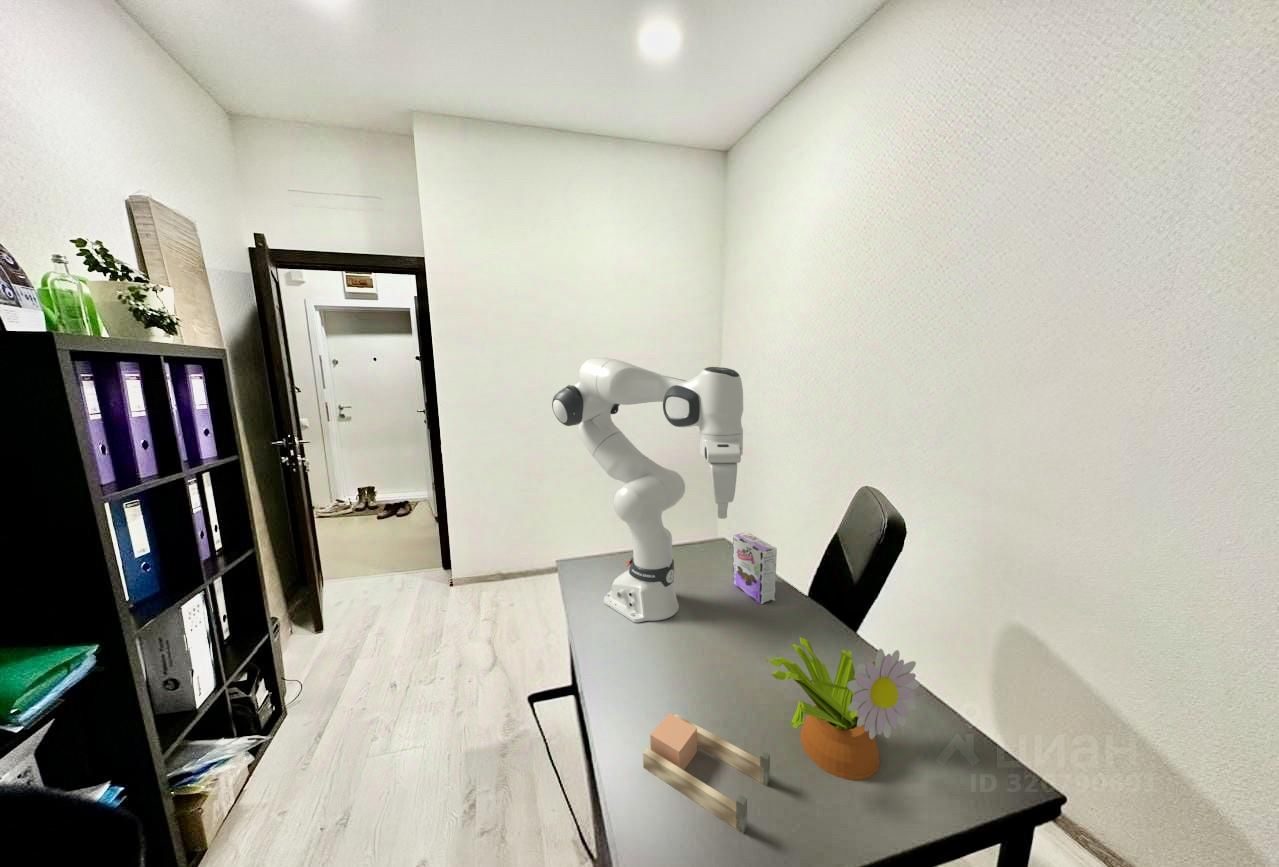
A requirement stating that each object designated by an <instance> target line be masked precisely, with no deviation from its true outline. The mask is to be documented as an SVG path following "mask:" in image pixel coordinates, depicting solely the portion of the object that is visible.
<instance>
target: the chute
mask: <svg viewBox="0 0 1279 867" xmlns="http://www.w3.org/2000/svg"><path fill="white" fill-rule="evenodd" d="M674 716H676V717H678V718H679V719H681V720H683V721H685V722H687V723H689V724H690V725H692V726H694V727H696V728H697V748H699V749H701V750H703V751H705V752H706V753H708V754H710V755H712V756H713V757H716V758H717V759H719V760H721V761H722V762H724V763H726V764H728V765H730V766H731V767H733V768H735V769H736V770H738V771H740V772H741V773H743V774H746V775H747V776H749V777H750V778H753V779H754V780H756V781H757V782H759V783H761V784H762V785H763V786H768V784H769V782H770V780H771V778H770V776H771V773H770V771H771V754H770V753H769V752H766V751H765V750H762V751H761V754H760V756H759V758H758V757H756V756H754V755H752V754H750V753H749V752H746V751H745V750H743V749H742V748H740V747H738V746H735V745H734V744H731V743H730V742H728V741H726V740H725V739H722V738H721V737H720V736H718V735H715V734H713V733H712V732H710V731H708V730H706V729H704V728H703V727H701V726H698V725H696V723H694V722H692V721H689V720H687V719H686V718H684V717H682V716H680V715H678V714H676V713H675V714H674ZM642 757H643V760H642V762H643V764H642V765H643V769H645V770H647V771H648V772H649V773H651V774H653V775H654V776H655V777H657V778H659V779H660V780H661V781H663V782H664V783H666V784H667V785H669V786H671V787H672V788H673V789H675V790H677V791H678V792H680V793H681V794H683V795H685V797H687V798H689V799H690V800H692V801H693V802H695V803H696V804H698V805H700V806H701V807H703V808H704V809H705V810H707V811H709V812H710V813H712V814H713V815H714V816H716V817H717V818H719V819H720V820H722V821H724V822H725V823H727V825H728V824H729V825H730V826H732V827H733V828H734V829H736V830H737V831H739V832H740V833H742V834H745V832H746V830H747V826H748V798H747V797H745V796H744V795H742V794H740V793H739V794H738V797H737V798H736V800H735V801H734V800H732V799H730V798H729V797H727V796H726V795H724V794H722V793H721V792H719V791H717V790H716V789H714V788H713V787H711V786H709V785H708V784H707V783H705V782H704V781H701V780H700V779H698V778H697V777H695V776H694V775H692V774H691V773H689V772H687V771H685V770H682V769H681V768H679V767H677V766H676V765H674V764H673V763H671V762H669V761H668V760H666V759H665V758H663V757H661V756H660V755H658V754H657V753H655V752H653V751H652V750H651V748H649V747H646V749H644V751H643V753H642Z"/></svg>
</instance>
